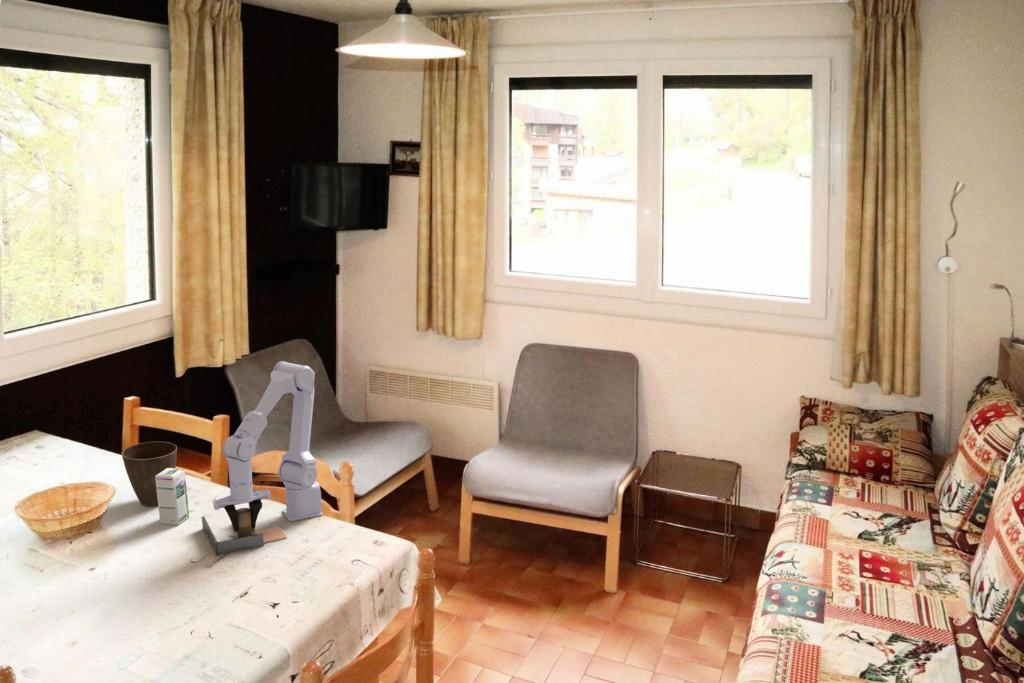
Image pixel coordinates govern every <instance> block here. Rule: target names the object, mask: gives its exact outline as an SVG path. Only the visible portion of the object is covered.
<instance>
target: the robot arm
mask: <svg viewBox="0 0 1024 683" xmlns="http://www.w3.org/2000/svg"><path fill="white" fill-rule="evenodd" d="M275 364H276V365H275V366H274V367H273V370H272V371H271V372H270V383H269V384H268V386H267V388H266V389H265V391H264V393H263V395H262V397H261V399H260V400H259V403H258V404H257V406H256V408H255V410H251V411H248V413H247V414H245V416H244V418H243V419H242V422H241V423H240V424H239V426H238V427H237V429H236V431H235V432H234V434H232V435H231V436H229V437H227V438H226V439H225V440H224V442H223V447H222V448H221V451H222V453H223V456H225V458H226V460H225V461H226V463H227V464H228V466H227V467H228V476H229V480H228V482H229V489H230V492H229V493H230V495H227V496H225V497H221V498H219V499H215V500H213V501H212V504H213V509H214V510H215V511H218V510H220V509H222V508H223V509H224V511H225V512H226V514H227V516H228V518H229V520H230V522H231V525H232V530H233V532H235V533H237V532H238V526H237V508H236V506H238V505H244V504H248V508H249V509H251V519H252V528H256V524H257V519H258V516H259V513H260V511H261V510H262V508H263V502H262V500H271V499H272V496H271V491H270V490H269V489H264V490H254V484H253V473H252V471H253V470H252V457H253V456H254V455H255V453H256V449H257V444H258V439H259V437H260V436H261V434H262V433H263V432H264V430H265V428H266V427H267V425H268V419H267V417H268V416H269V414H270V413H271V412H272V410H273V409H274V408H275V406H276V405H277V404H278V402H279V401H280V399H281V398H282V397H283V395H285V394H289V393H290V394H292V395H293V404H292V414H291V416H292V417H291V424H290V425H291V426H290V436H289V446H288V451H287V452H285V453H284V454H283V455H282V456H281V462H280V465H279V467H278V469H277V470H278V472H277V473H278V474H277V475H278V477H279V478H280V480H281V481H283V485H284V487H285V488H284V490H285V491H284V492H285V504H286V508H284V509H282V513H283V514H284V516H285V517H286V519H287V520H288V521H289V522H294V521H299V520H304V518H305V519H310V518H314V517H319V516H323V514H324V513H323V512H322V510H323V508H322V492H321V486H320V484H319V482H318V481H317V477H318V470H317V464H316V462H317V460H316V459H315V457H314V456H313V455H312V454H311V452H310V445H311V444H310V443H311V433H312V423H313V422H312V421H313V412H314V411H313V410H314V402H315V401H314V400H315V376H316V373H315V371H314V370H313V369H312V368H311V367H310V366H309V365H303V364H296V363H291V362H287V361H284V360H281V361H279V362H277V363H275ZM309 517H310V518H309Z"/></svg>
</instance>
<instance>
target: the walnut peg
mask: <svg viewBox="0 0 1024 683" xmlns="http://www.w3.org/2000/svg"><path fill="white" fill-rule="evenodd" d="M236 510H237V526H238V532H236V538H240V537H245V536H250V535H254V533H253V532H252V519H251V509H249V507H241V508H238V509H237V508H236Z"/></svg>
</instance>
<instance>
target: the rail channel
mask: <svg viewBox="0 0 1024 683" xmlns="http://www.w3.org/2000/svg"><path fill="white" fill-rule="evenodd" d="M201 522H202V523H201V524H202V525H201V526H202V530H203V532H204V534H205V535H206V537H207V538H206V539H207V540H208V543H209V544H210V546H211V548H212V549H213V551H214V554H215V556H216V557H218V556H222V555H228V554H233V553H237V552H242V551H248V550H253V549H256V548H261V547H260V546H262V547H264V546H265V543H264V542H263V533H259V534H254V531H255V532H256V530H255V528H256V527H255V528H252V533H253V535H250V536H245V537H240V538H237V537H236V538H230V539H225V540H222V541H221V540H220V541H218V540H217V538H216V537H215V535H214V533H213V531H212V529H211V526H210V525H209V523H208V521H207V519H206V517H205V516H201Z"/></svg>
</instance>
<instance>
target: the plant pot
mask: <svg viewBox="0 0 1024 683" xmlns="http://www.w3.org/2000/svg"><path fill="white" fill-rule="evenodd" d="M177 455H178V446H177V445H176V444H175V443H172V442H169V441H168V442H167V441H146V442H141V443H137V444H134V445H131V446H129V447H127V448H125V449H124V450H122V452H121V456H122V460H123V465H124V469H125V471H126V472H125V473H126V475H127V477H128V479H129V480H128V481H129V482H130V485H131V487H132V489H133V492H134V493H135V496H136V497H137V500H138V501H139V503H140V505H141V506H143V507H147V508H148V507H149V508H151V507H158V498H157V488H156V479H155V476H156V475H158V474H159V473H161V472H162V471H164V470H165V469H166V468H177V467H176V466H177V457H178V456H177Z"/></svg>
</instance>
